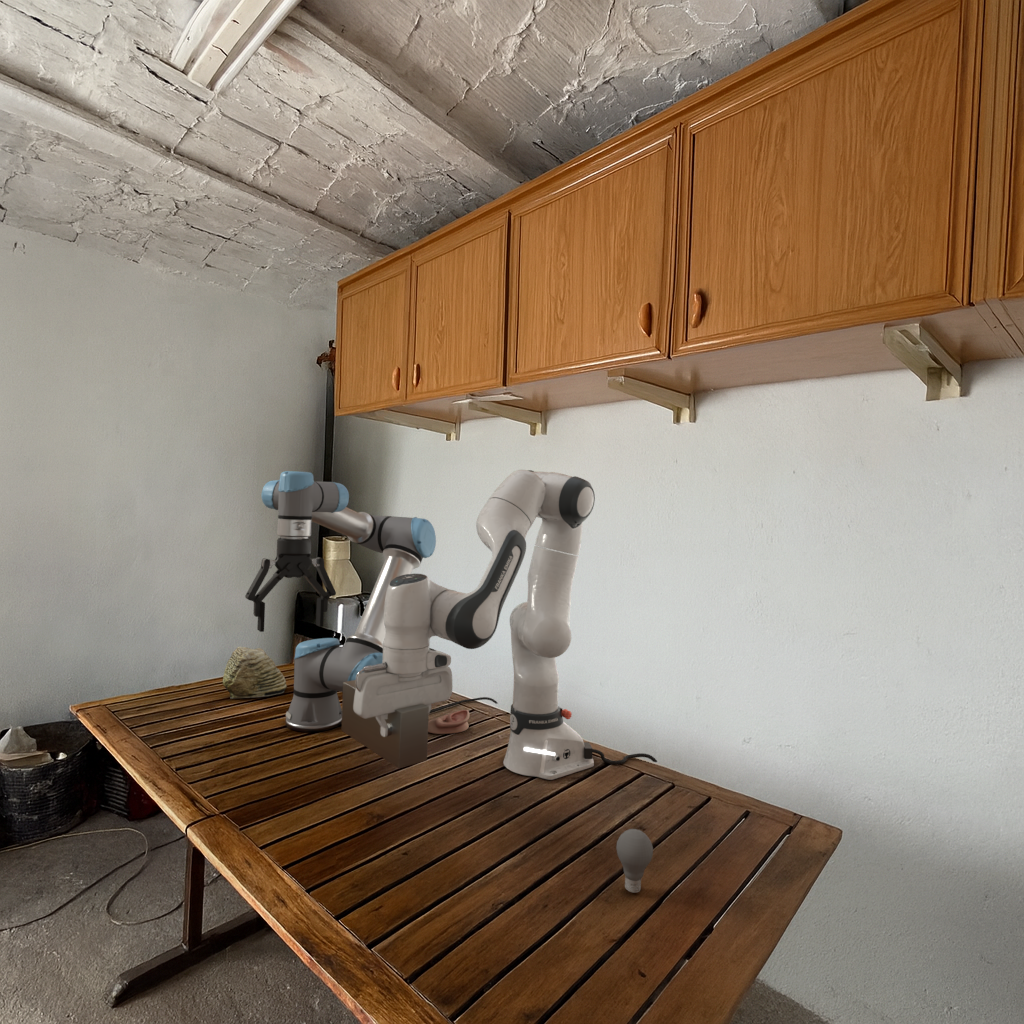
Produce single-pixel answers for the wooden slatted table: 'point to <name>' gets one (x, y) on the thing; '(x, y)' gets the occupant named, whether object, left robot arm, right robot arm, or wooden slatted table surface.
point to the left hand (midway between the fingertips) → (290, 628)
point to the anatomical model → (449, 723)
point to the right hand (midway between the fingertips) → (403, 731)
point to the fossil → (252, 674)
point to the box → (406, 731)
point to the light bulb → (634, 857)
